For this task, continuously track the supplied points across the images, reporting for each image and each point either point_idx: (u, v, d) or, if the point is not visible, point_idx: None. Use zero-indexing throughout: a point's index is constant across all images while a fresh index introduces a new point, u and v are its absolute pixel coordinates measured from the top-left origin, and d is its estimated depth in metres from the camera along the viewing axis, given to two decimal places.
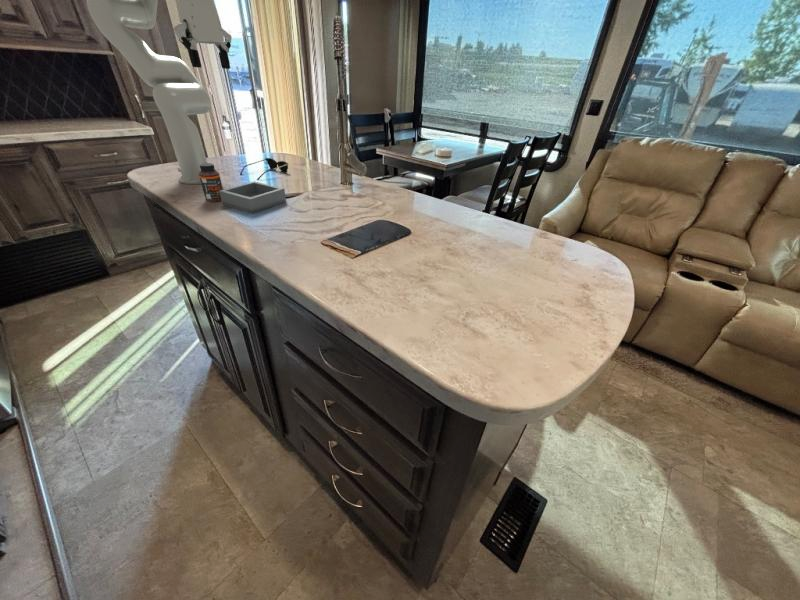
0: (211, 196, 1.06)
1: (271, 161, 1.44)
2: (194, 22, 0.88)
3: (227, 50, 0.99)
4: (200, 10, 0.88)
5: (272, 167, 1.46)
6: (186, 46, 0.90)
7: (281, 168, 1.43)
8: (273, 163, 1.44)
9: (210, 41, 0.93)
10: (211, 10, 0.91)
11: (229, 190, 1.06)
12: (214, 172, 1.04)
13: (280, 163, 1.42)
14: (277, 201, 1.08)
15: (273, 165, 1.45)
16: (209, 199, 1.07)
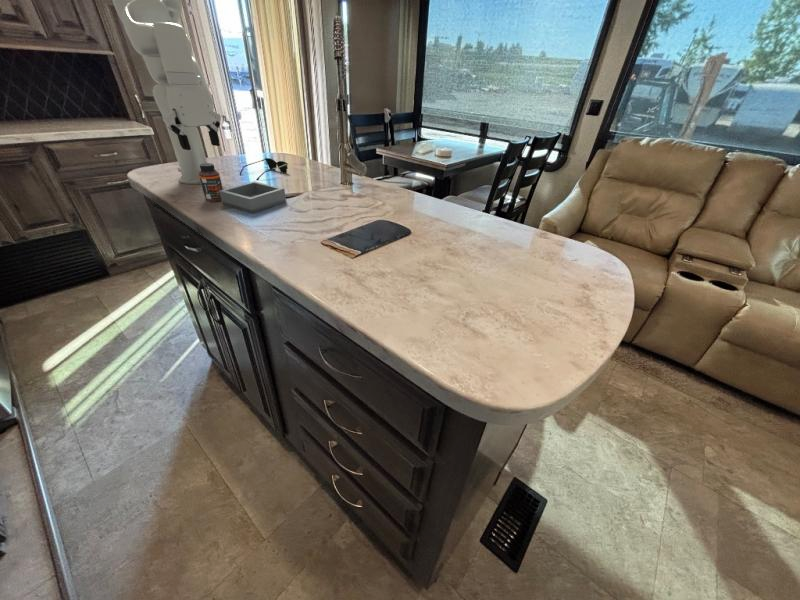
0: (211, 196, 1.06)
1: (270, 161, 1.44)
2: (183, 110, 0.91)
3: (216, 129, 1.02)
4: (189, 99, 0.91)
5: (271, 167, 1.45)
6: (175, 132, 0.93)
7: (280, 168, 1.43)
8: (272, 163, 1.44)
9: (199, 125, 0.96)
10: (200, 97, 0.94)
11: (229, 190, 1.06)
12: (214, 172, 1.04)
13: (279, 163, 1.41)
14: (277, 201, 1.08)
15: (272, 165, 1.45)
16: (209, 199, 1.07)
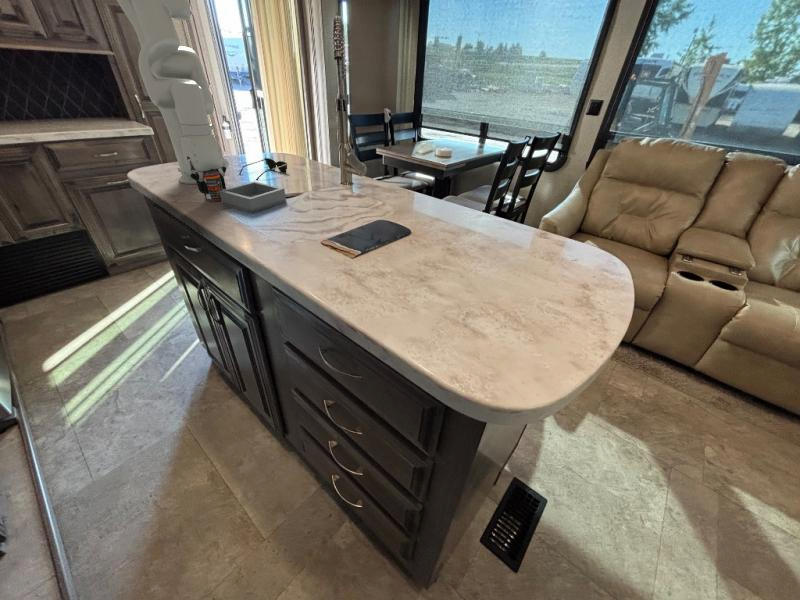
0: (211, 196, 1.06)
1: (270, 161, 1.44)
2: (197, 158, 0.99)
3: (223, 174, 1.08)
4: (202, 147, 0.99)
5: (271, 167, 1.45)
6: (195, 179, 1.02)
7: (280, 168, 1.43)
8: (272, 163, 1.44)
9: None
10: (212, 144, 1.01)
11: (229, 190, 1.06)
12: (214, 172, 1.04)
13: (279, 163, 1.41)
14: (277, 201, 1.08)
15: (272, 165, 1.45)
16: (209, 199, 1.07)
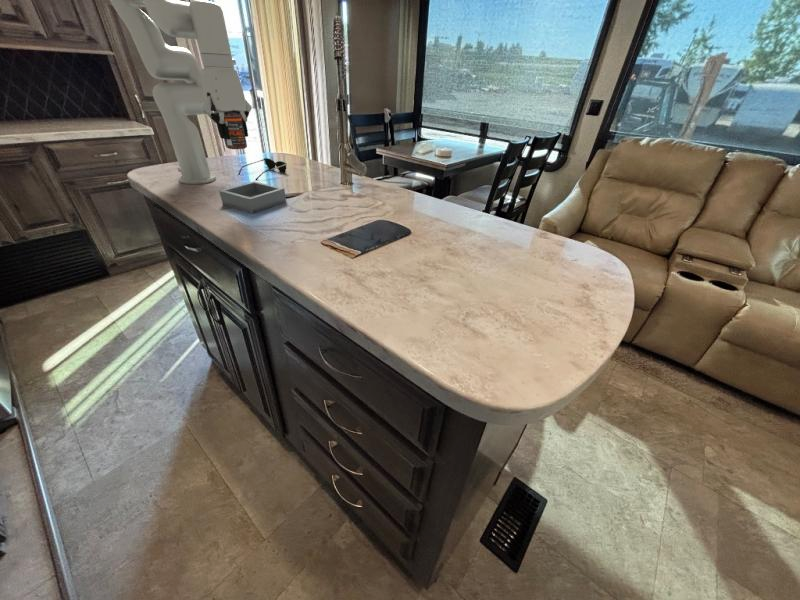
0: (232, 142, 0.96)
1: (269, 161, 1.43)
2: (218, 94, 0.88)
3: (245, 119, 0.98)
4: (224, 82, 0.88)
5: (270, 167, 1.45)
6: (215, 121, 0.92)
7: (279, 168, 1.42)
8: (271, 163, 1.43)
9: (233, 110, 0.93)
10: (234, 81, 0.90)
11: (229, 190, 1.06)
12: (236, 114, 0.94)
13: (278, 163, 1.41)
14: (277, 201, 1.08)
15: (271, 165, 1.44)
16: (230, 146, 0.96)
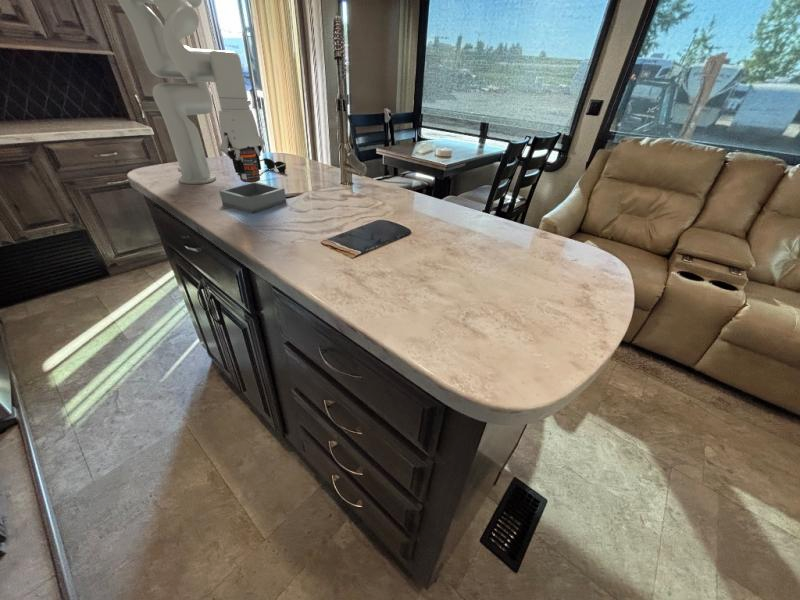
0: (247, 176, 1.01)
1: (269, 161, 1.43)
2: (235, 134, 0.93)
3: (259, 154, 1.03)
4: (240, 123, 0.93)
5: (270, 167, 1.45)
6: (231, 157, 0.97)
7: (279, 168, 1.42)
8: (271, 163, 1.43)
9: None
10: (249, 120, 0.96)
11: (229, 190, 1.06)
12: (251, 150, 0.99)
13: (278, 163, 1.41)
14: (277, 201, 1.08)
15: (270, 165, 1.44)
16: (245, 179, 1.02)
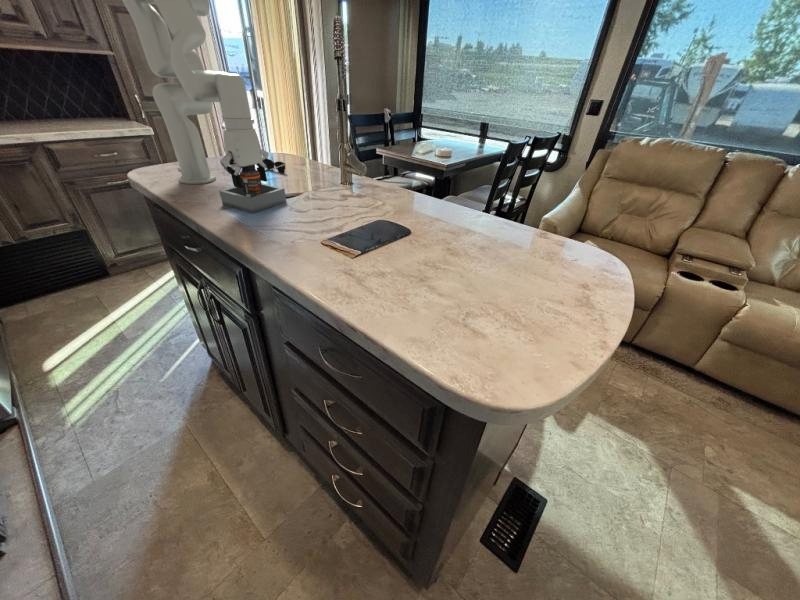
0: (251, 196, 1.05)
1: (268, 161, 1.43)
2: (239, 153, 0.96)
3: (265, 166, 1.06)
4: (244, 142, 0.96)
5: (269, 167, 1.45)
6: (230, 172, 0.98)
7: (278, 168, 1.42)
8: (270, 163, 1.43)
9: (251, 164, 1.01)
10: (253, 139, 0.99)
11: (229, 190, 1.06)
12: (255, 172, 1.03)
13: (277, 163, 1.41)
14: (277, 201, 1.08)
15: (270, 166, 1.44)
16: None
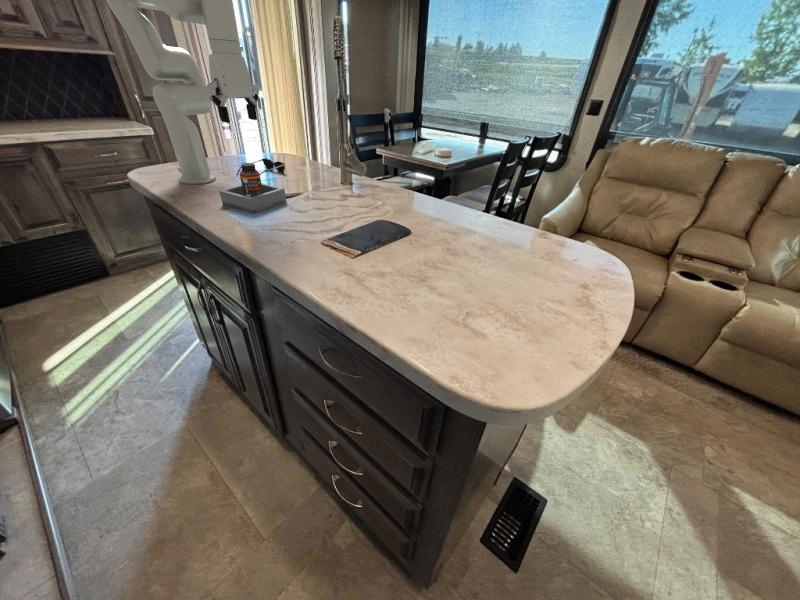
0: (251, 196, 1.05)
1: (267, 161, 1.43)
2: (225, 81, 0.89)
3: (255, 102, 0.99)
4: (231, 69, 0.89)
5: (269, 167, 1.45)
6: (216, 103, 0.91)
7: (278, 168, 1.42)
8: (270, 163, 1.43)
9: (239, 97, 0.94)
10: (241, 67, 0.91)
11: (229, 190, 1.06)
12: (255, 172, 1.03)
13: (277, 163, 1.41)
14: (277, 201, 1.08)
15: (269, 166, 1.44)
16: None
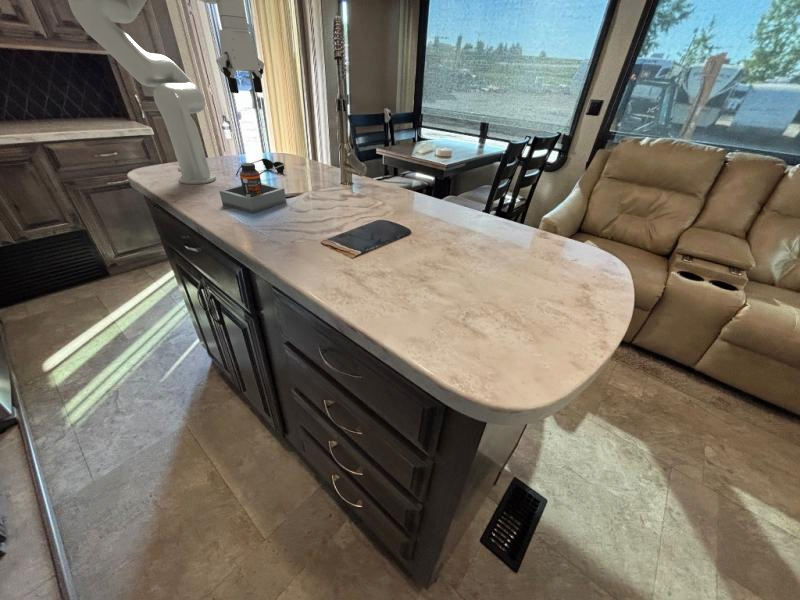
0: (251, 196, 1.05)
1: (267, 162, 1.43)
2: (234, 54, 0.99)
3: (260, 76, 1.09)
4: (240, 43, 0.99)
5: (268, 168, 1.44)
6: (226, 75, 1.01)
7: (277, 169, 1.42)
8: (269, 164, 1.43)
9: (247, 69, 1.04)
10: (248, 42, 1.01)
11: (229, 190, 1.06)
12: (255, 172, 1.03)
13: (276, 164, 1.40)
14: (277, 201, 1.08)
15: (269, 166, 1.44)
16: None
